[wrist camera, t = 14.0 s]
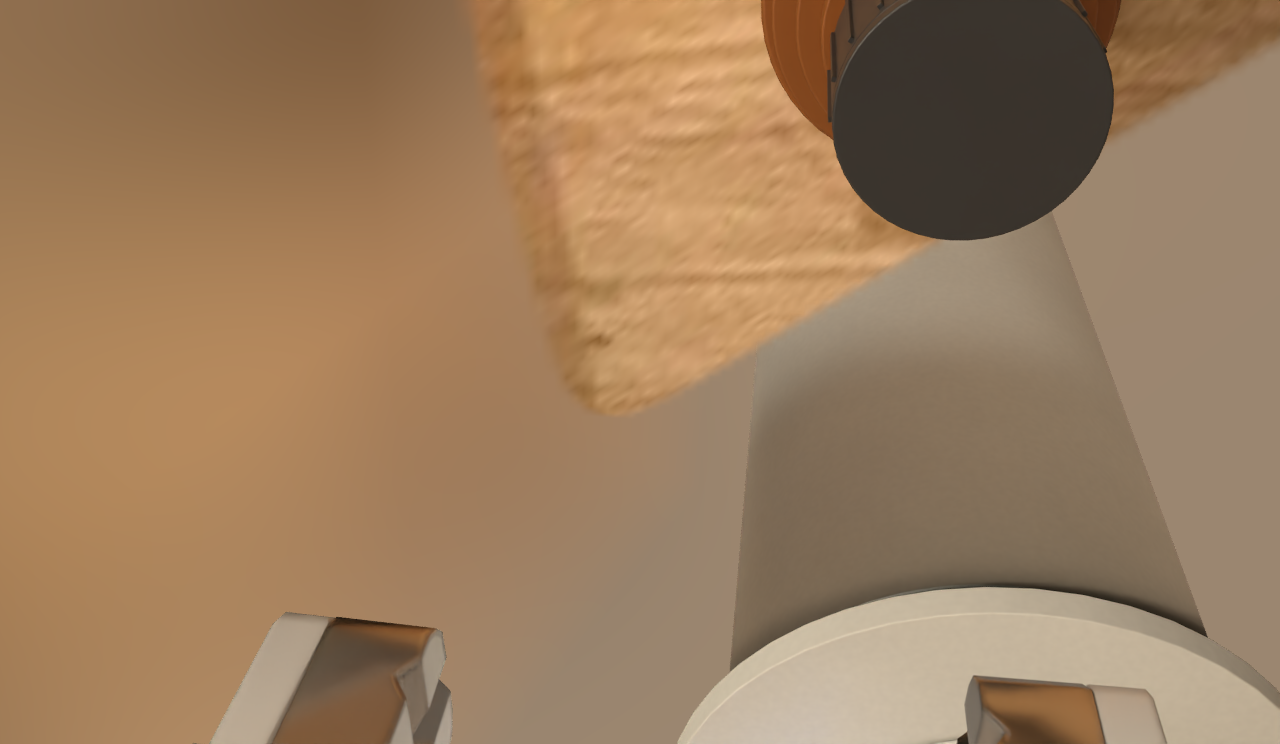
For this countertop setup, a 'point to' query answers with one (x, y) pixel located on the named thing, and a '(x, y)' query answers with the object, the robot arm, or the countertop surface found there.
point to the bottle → (800, 47)
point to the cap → (967, 109)
